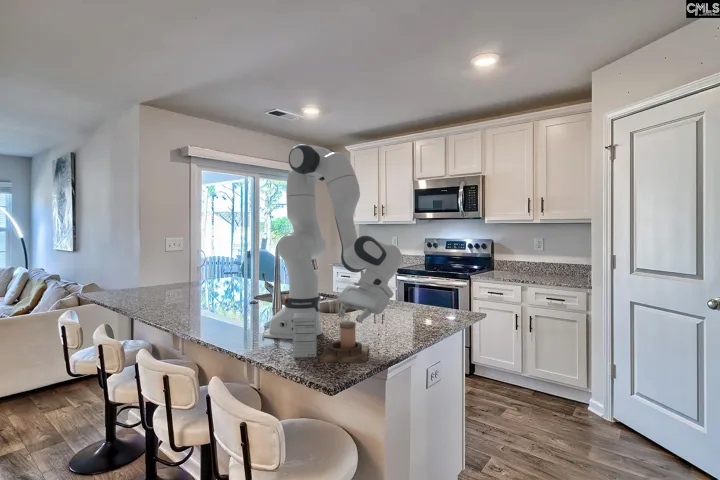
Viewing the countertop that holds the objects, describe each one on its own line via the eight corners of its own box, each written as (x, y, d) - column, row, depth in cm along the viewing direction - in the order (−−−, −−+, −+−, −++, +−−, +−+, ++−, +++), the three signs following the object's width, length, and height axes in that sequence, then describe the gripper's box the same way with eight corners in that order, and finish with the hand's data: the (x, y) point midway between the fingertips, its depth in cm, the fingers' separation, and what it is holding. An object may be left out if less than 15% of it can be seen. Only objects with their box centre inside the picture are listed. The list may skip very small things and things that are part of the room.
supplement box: (294, 350, 129) (294, 312, 129) (317, 349, 130) (316, 312, 129) (292, 358, 122) (292, 317, 121) (316, 357, 122) (316, 317, 122)
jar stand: (319, 361, 118) (319, 351, 118) (327, 347, 132) (327, 339, 132) (365, 362, 116) (365, 352, 116) (368, 348, 130) (368, 339, 130)
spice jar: (339, 353, 122) (338, 325, 122) (341, 349, 127) (341, 321, 127) (355, 354, 121) (354, 325, 121) (356, 349, 126) (356, 321, 126)
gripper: (347, 276, 138) (324, 308, 131) (387, 282, 122) (363, 318, 116) (356, 288, 140) (335, 319, 134) (397, 295, 125) (375, 330, 119)
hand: (348, 318), depth 125 cm, fingers open, 8 cm apart
